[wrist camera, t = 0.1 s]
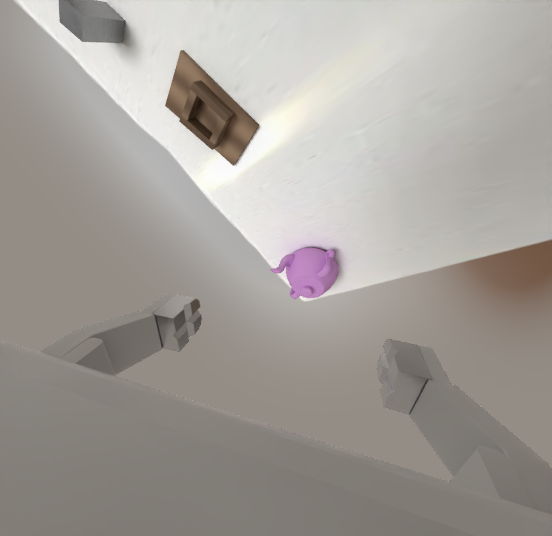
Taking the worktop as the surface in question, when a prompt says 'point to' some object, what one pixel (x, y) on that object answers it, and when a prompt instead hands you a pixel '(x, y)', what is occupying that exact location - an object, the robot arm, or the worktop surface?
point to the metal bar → (92, 20)
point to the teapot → (309, 271)
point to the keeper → (209, 110)
